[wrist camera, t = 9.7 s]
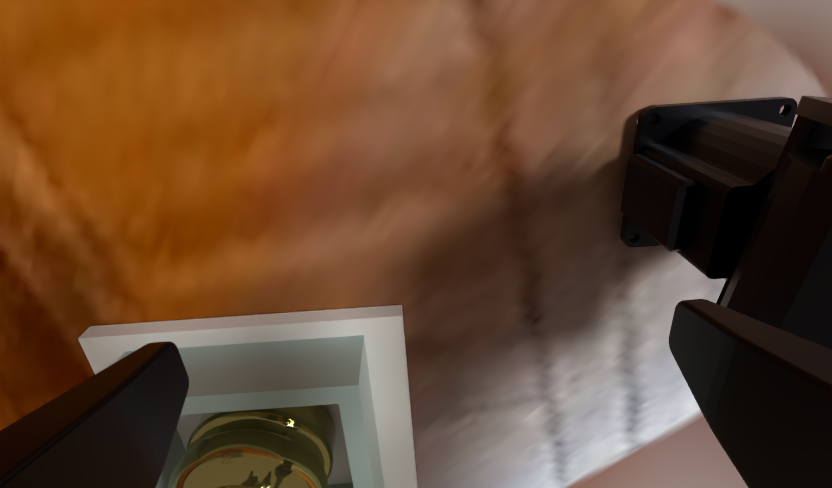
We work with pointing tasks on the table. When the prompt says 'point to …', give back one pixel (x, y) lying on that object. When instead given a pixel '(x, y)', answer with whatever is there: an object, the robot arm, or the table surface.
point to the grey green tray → (292, 379)
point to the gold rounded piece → (259, 450)
